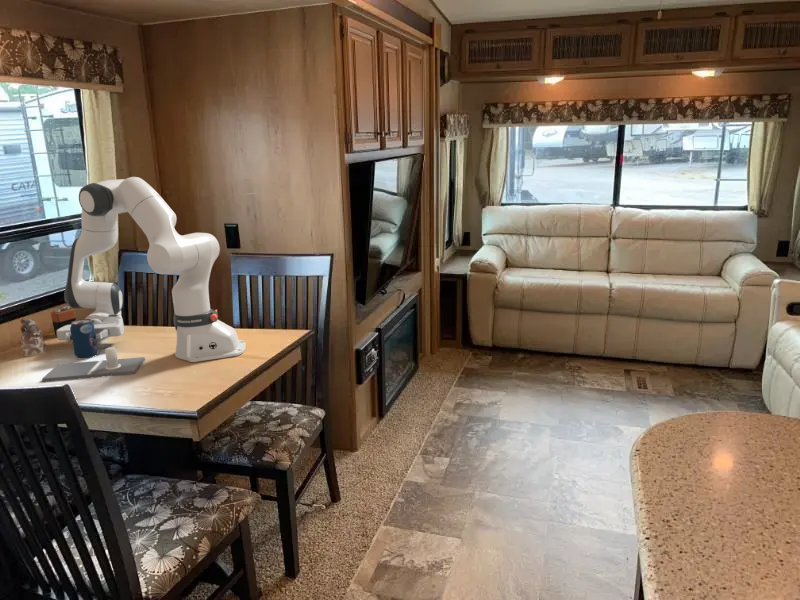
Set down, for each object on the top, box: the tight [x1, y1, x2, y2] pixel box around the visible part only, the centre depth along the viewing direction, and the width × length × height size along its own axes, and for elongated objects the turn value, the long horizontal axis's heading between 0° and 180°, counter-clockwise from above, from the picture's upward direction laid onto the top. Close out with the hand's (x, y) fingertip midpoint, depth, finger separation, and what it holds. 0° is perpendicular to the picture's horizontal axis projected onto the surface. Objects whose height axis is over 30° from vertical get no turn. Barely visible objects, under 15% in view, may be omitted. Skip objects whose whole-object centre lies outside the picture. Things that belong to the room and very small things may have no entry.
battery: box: [50, 305, 77, 336], centre depth 218 cm, size 4×7×10 cm, turn 148°
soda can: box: [70, 318, 99, 359], centre depth 193 cm, size 7×7×12 cm
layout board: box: [41, 346, 146, 383], centre depth 181 cm, size 26×12×7 cm, turn 99°
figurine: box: [20, 318, 48, 357], centre depth 198 cm, size 7×7×12 cm
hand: (83, 338), depth 192 cm, fingers open, 8 cm apart
